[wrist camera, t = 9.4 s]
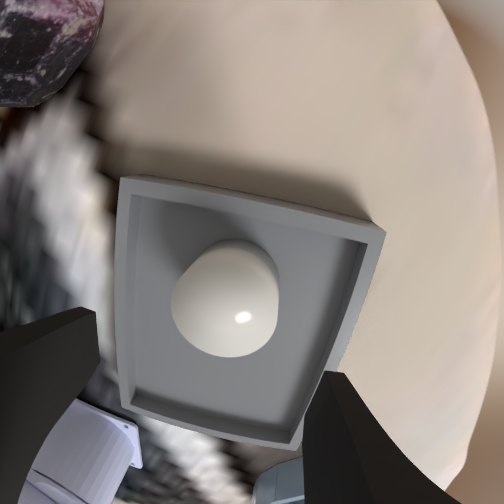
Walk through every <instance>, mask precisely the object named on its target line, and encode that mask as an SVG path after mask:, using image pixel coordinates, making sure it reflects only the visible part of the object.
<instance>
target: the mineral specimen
mask: <svg viewBox="0 0 504 504" xmlns="http://www.w3.org/2000/svg"><path fill="white" fill-rule="evenodd" d="M103 14H104V0H0V107H34V106H36V105H38V104H40V103H41V102H43V101H45V100H47V99H48V98H50V97H51V96H53V95H54V94H55V93H56V92H57V91H58V90H59V89H61V88H62V87H63V86H64V85H65V83H66V82H67V81H68V79H69V78H70V76H71V75H72V74H73V73H74V71H75V70H76V69H77V68H78V66H79V65H80V64H81V62H82V61H83V60H84V59H85V58H86V56H87V55H88V54H89V53H90V51H91V50H92V48H93V46H94V43H95V41H96V38H97V36H98V34H99V31H100V28H101V26H102V23H103V16H104V15H103Z"/></svg>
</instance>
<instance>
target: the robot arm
mask: <svg viewBox="0 0 504 504" xmlns="http://www.w3.org/2000/svg"><path fill="white" fill-rule="evenodd" d="M99 362H100V355H99V346H98V336H97V324H96V312H94V311H92V310H89V309H86V308H84V307H77V308H73V309H70V310H67V311H63V312H60V313H57V314H55V315H52V316H49V317H46V318H43V319H40V320H37V321H34V322H31V323H28V324H25V325H22V326H19V327H16V328H12V329H9V330H6V331H2V332H0V504H110V503H111V501H112V499H113V497H114V495H115V493H116V491H117V489H118V487H119V485H120V483H121V481H122V479H123V477H124V475H125V473H126V470H127V468H128V466H129V465H131V466H134V467H137V468H142V466H143V463H142V456H141V449H140V441H139V433H138V427H137V425H136V424H134V423H132V422H130V421H127V420H125V419H122V418H120V417H117V416H115V415H112V414H110V413H107V412H105V411H103V410H100V409H98V408H96V407H94V406H91V405H89V404H87V403H85V402H83V401H81V400H79V399H76V397H77V396H78V395H79V393H80V392H81V391H82V390H83V388H84V387H85V386H86V384H87V383H88V381H89V379H90V378H91V376H92V374H93V373H94V371H95V369H96V367H97V366H98V364H99ZM302 452H303V475H304V504H461V503H460V502H458V501H457V500H455V499H454V498H452V497H451V496H449V495H448V494H447V493H446V492H444V491H443V490H442V489H441V488H439V487H438V486H437V485H436V484H434V483H433V482H432V481H431V480H430V479H429V478H427V477H426V476H425V475H424V474H423V473H422V472H421V471H420V470H419V469H418V468H417V467H416V466H415V465H414V464H413V463H412V462H411V461H410V460H409V459H408V458H407V457H406V456H405V455H404V454H403V452H402V451H401V450H400V449H399V448H398V447H397V445H396V444H395V443H394V442H393V441H392V439H391V438H390V437H389V436H388V435H387V433H386V432H385V431H384V429H383V428H382V427H381V425H380V424H379V423H378V421H377V420H376V419H375V417H374V416H373V415H372V413H371V412H370V410H369V409H368V407H367V406H366V405H365V403H364V402H363V400H362V399H361V397H360V396H359V394H358V393H357V391H356V390H355V388H354V387H353V385H352V384H351V382H350V381H349V379H348V378H347V377H346V375H345V374H344V373H341V372H334V371H327V370H324V373H323V375H322V377H321V380H320V382H319V384H318V387H317V389H316V391H315V393H314V396H313V398H312V400H311V402H310V404H309V406H308V409H307V411H306V413H305V415H304V426H303V439H302Z"/></svg>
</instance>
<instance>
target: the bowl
mask: <svg viewBox="0 0 504 504" xmlns="http://www.w3.org/2000/svg"><path fill="white" fill-rule="evenodd" d="M302 500H304V475H303V457H300V458H296V459H293V460H290V461H286V462H283V463H279V464H277V465H275V466H274V467H272V468H270V469H269V470H267V471H265V472H264V473H262V474H260V475H259V477H258V479H257V481H256V483H255V485H254V487H253V494H252V501H251V504H298V503H299V502H301V501H302Z"/></svg>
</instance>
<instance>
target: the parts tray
mask: <svg viewBox="0 0 504 504" xmlns="http://www.w3.org/2000/svg"><path fill="white" fill-rule="evenodd" d="M385 236H386V232H385V231H384V230H383V229H382V228H380V227H379V226H378V225H376V224H375V223H374V222H370V221H367V220H363V219H359V218H355V217H351V216H347V215H343V214H339V213H335V212H331V211H327V210H322V209H318V208H314V207H310V206H305V205H301V204H297V203H292V202H288V201H283V200H278V199H274V198H269V197H264V196H260V195H255V194H250V193H245V192H240V191H235V190H230V189H224V188H219V187H214V186H208V185H203V184H197V183H192V182H186V181H180V180H174V179H168V178H162V177H156V176H149V175H143V174H139V175H132V176H125V177H120V186H119V195H118V206H117V219H116V234H115V257H114V319H115V341H116V356H117V368H118V379H119V388H120V397H121V405H122V408H125V409H128V410H130V411H133V412H136V413H138V414H141V415H144V416H147V417H150V418H153V419H156V420H159V421H162V422H165V423H168V424H171V425H175V426H178V427H181V428H185V429H188V430H192V431H196V432H199V433H203V434H207V435H211V436H215V437H220V438H224V439H228V440H233V441H238V442H243V443H248V444H253V445H259V446H265V447H271V448H278V449H285V450H292V451H297V449H298V447H299V445H300V443H301V442H302V439H303V426H304V415H305V413H306V411H307V409H308V406H309V404H310V402H311V400H312V398H313V396H314V393H315V391H316V389H317V387H318V384H319V382H320V380H321V377H322V375H323V373H324V370H327V371H334V372H336V370H337V368H338V366H339V364H340V361H341V359H342V357H343V354H344V352H345V349H346V347H347V345H348V342H349V340H350V337H351V335H352V332H353V330H354V327H355V325H356V322H357V319H358V317H359V314H360V311H361V309H362V306H363V303H364V301H365V298H366V295H367V292H368V289H369V286H370V283H371V280H372V277H373V274H374V271H375V268H376V265H377V262H378V259H379V256H380V252H381V249H382V246H383V242H384V239H385ZM226 239H242V240H246V241H250V242H252V243H254V244H256V245H258V246H260V247H261V248H262V249H264V250H265V251H266V252H267V253H268V254H269V255H270V256H271V258H272V259H273V261H274V262H275V264H276V266H277V269H278V272H279V277H280V289H279V304H278V318H277V324H276V328H275V330H274V333H273V334H272V336H271V338H270V339H269V340H268V342H267V343H266V344H265V345H264V346H262V347H261V348H260V349H258V350H256V351H255V352H253V353H250V354H248V355H244V356H240V357H220V356H215V355H211V354H208V353H206V352H204V351H202V350H200V349H198V348H196V347H195V346H194V345H192V344H191V343H190V342H189V341H187V340H186V339H185V337H184V336H183V335H182V334H181V333H180V331H179V330H178V328H177V326H176V324H175V322H174V320H173V316H172V313H171V296H172V292H173V289H174V287H175V285H176V283H177V282H178V280H179V279H180V277H181V276H182V275H183V274H184V273H185V272H186V271H187V269H188V268H189V267H190V266H191V265H192V264H193V263H194V261H195V260H196V259H197V258H198V257H199V256H200V255H201V253H202V252H203V251H204V250H205V249H206V248H208V247H209V246H210V245H212V244H214V243H216V242H219V241H221V240H226Z"/></svg>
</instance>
